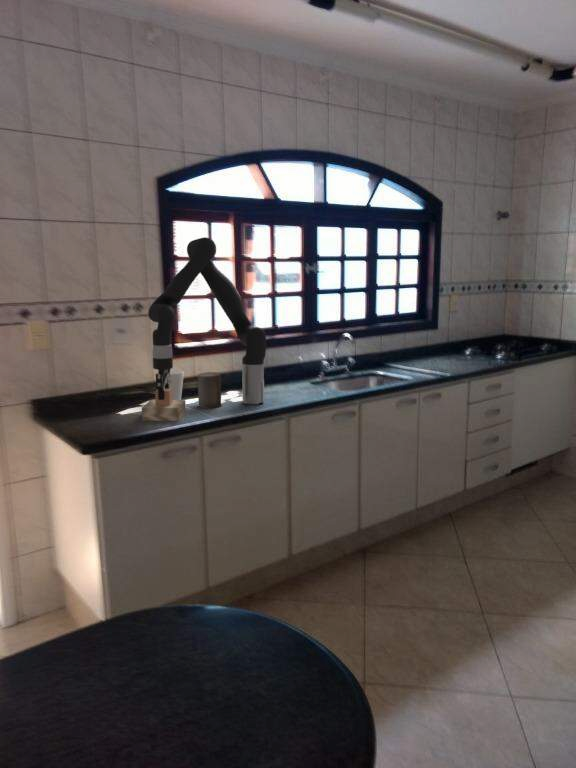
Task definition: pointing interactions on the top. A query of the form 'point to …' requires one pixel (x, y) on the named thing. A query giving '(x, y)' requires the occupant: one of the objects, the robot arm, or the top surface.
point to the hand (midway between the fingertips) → (163, 397)
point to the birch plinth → (163, 411)
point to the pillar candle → (209, 389)
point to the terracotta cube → (167, 397)
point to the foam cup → (176, 384)
